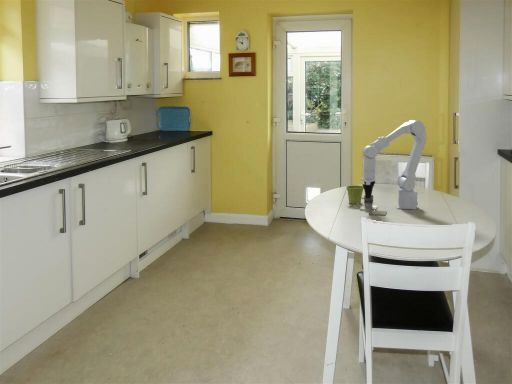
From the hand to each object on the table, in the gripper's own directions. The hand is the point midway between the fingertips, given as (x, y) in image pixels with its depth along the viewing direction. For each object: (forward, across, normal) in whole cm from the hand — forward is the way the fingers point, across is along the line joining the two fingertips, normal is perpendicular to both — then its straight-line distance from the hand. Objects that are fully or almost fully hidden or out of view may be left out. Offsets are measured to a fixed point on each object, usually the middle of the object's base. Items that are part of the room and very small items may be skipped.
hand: (368, 196), depth 281 cm
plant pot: (+6, -13, -8) cm, 17 cm away
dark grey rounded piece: (+3, 0, 0) cm, 3 cm away
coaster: (+6, +10, +5) cm, 13 cm away
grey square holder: (+6, 0, 0) cm, 6 cm away
